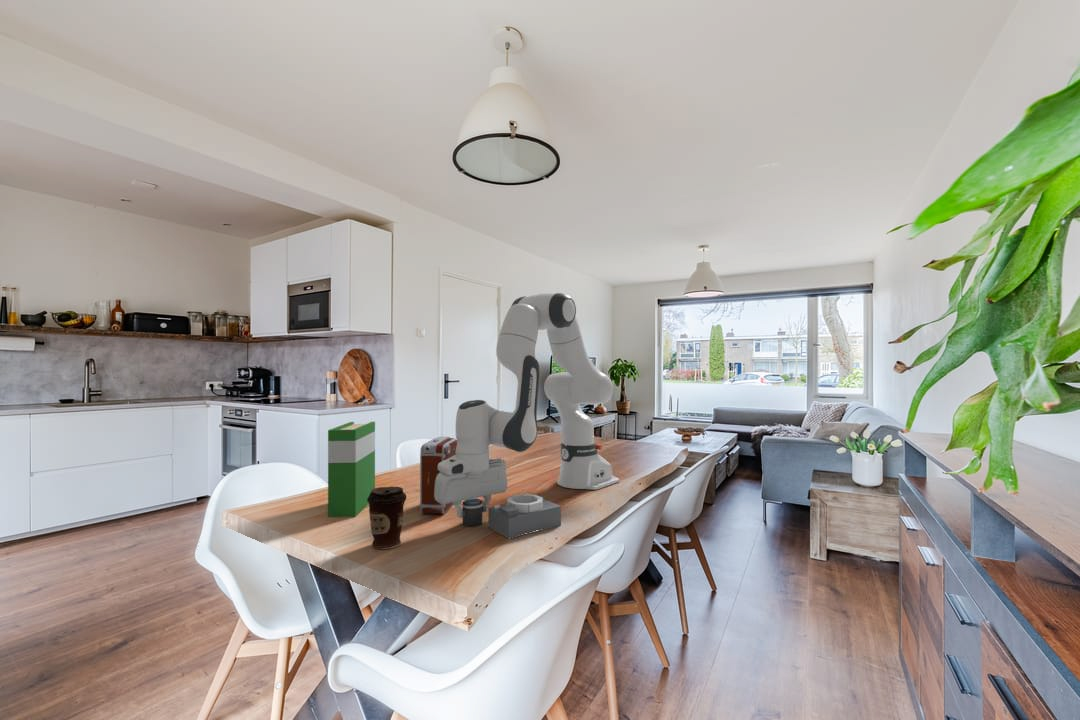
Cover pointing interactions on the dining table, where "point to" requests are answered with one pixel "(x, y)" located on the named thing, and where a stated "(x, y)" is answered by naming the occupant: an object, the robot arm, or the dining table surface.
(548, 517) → the camera body
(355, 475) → the hardback book
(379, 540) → the coffee cup
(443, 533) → the dining table surface
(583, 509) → the dining table surface
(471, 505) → the lens
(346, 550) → the dining table surface
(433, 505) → the cine camera
